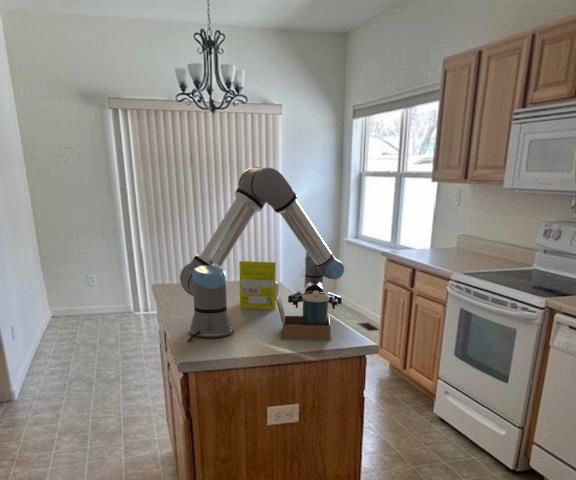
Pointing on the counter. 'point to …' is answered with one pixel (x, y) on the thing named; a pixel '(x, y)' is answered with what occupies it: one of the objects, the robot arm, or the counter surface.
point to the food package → (257, 284)
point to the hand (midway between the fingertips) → (315, 304)
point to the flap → (280, 307)
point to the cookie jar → (315, 309)
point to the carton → (304, 329)
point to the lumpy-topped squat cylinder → (276, 289)
